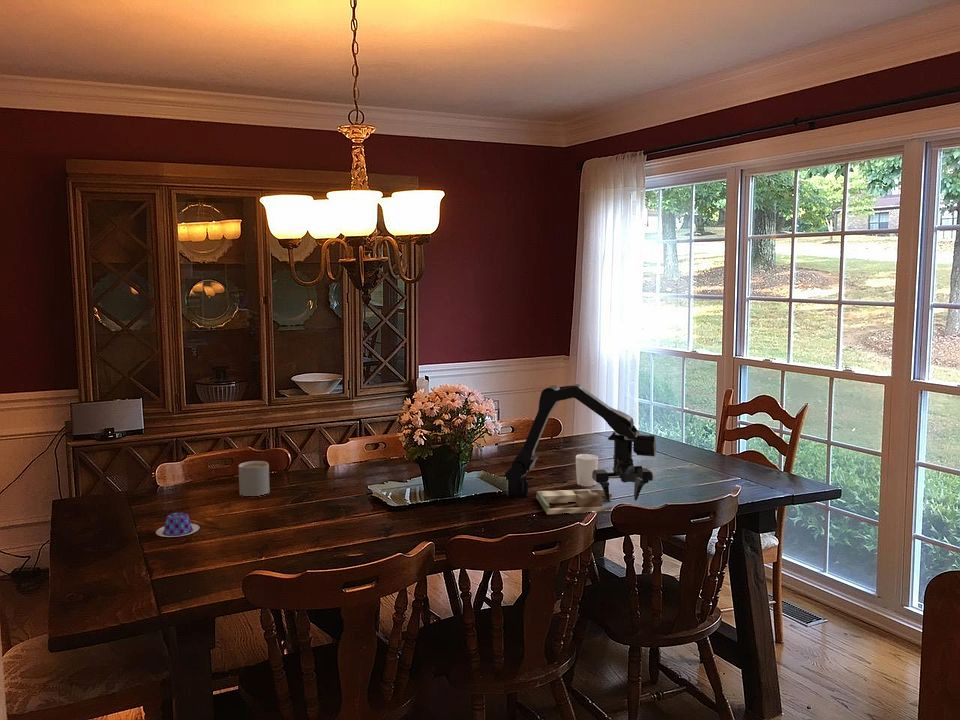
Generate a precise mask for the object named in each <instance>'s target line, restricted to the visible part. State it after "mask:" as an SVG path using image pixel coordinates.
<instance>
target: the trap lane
mask: <svg viewBox="0 0 960 720" xmlns="http://www.w3.org/2000/svg"><path fill="white" fill-rule="evenodd" d="M594 492H596V493H598V494H599V495H601V496H602V502H607V499H606V497H605V494H604V491H603V488H593V489H592V488H590V489H588V488H587V489H567V490H566V489H564V490H563V489H562V490H560V489H559V490H537V491H536V500H537V502H538V503H539V505H540V506H541V507H542V509H543V511H544V512H545V513H546V515H561V514H562V513H563V514H564V513H569V514H585V513H586V512H587V513H586V514H589V513H588V512H591V511H597V512H596V513H599V512H598V511H605V510H611V509H612V508H613V507H614V506H615V505H610V506H608V505H607V506H606V505H605V506H603V505H602V507H559V508H558V507H557V508H550V503H551V504H569V503H568V502H576V494H583V493H594ZM612 494H613V493H611V491H610V490H609V500H613V498H612V497H613V495H612ZM563 514H562V515H563ZM564 515H565V514H564Z"/></svg>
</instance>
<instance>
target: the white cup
mask: <svg viewBox="0 0 960 720" xmlns="http://www.w3.org/2000/svg"><path fill="white" fill-rule="evenodd" d="M598 466H599V456H598V455H596V454H589V453H582V454H577V455H575V470H576V471H575V472H576V473H575V475H576V484H577V485H578V486H580V485H581V487H594V486H593V485H595V486H597V482H596V481H595V480H594V479H593V478H592V472H593V471H594V470H598Z"/></svg>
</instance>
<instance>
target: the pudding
mask: <svg viewBox="0 0 960 720" xmlns="http://www.w3.org/2000/svg"><path fill="white" fill-rule="evenodd" d="M199 529H200V525H198V524H196V523H191V520H190V517H189V514H188V513H185V512H174V513H170V514H168V515H167V516H166V518H165V521H164V526H162V527H160V528H158V529H157V530H156V531H155V534H156V535H157V536H160V537H163V538H164V537H166V538H174V537H179V536H180V537H183V536H188V535H191V534H194V533H195V532H197V531H199Z"/></svg>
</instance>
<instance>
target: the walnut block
mask: <svg viewBox="0 0 960 720" xmlns="http://www.w3.org/2000/svg"><path fill="white" fill-rule="evenodd" d="M575 506H576V507H577V506H578V507H602V506H603V501H602V496H601V495H599V494H598V493H596V492H594V493H583V494H576V503H575ZM578 507H577V508H578Z"/></svg>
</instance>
